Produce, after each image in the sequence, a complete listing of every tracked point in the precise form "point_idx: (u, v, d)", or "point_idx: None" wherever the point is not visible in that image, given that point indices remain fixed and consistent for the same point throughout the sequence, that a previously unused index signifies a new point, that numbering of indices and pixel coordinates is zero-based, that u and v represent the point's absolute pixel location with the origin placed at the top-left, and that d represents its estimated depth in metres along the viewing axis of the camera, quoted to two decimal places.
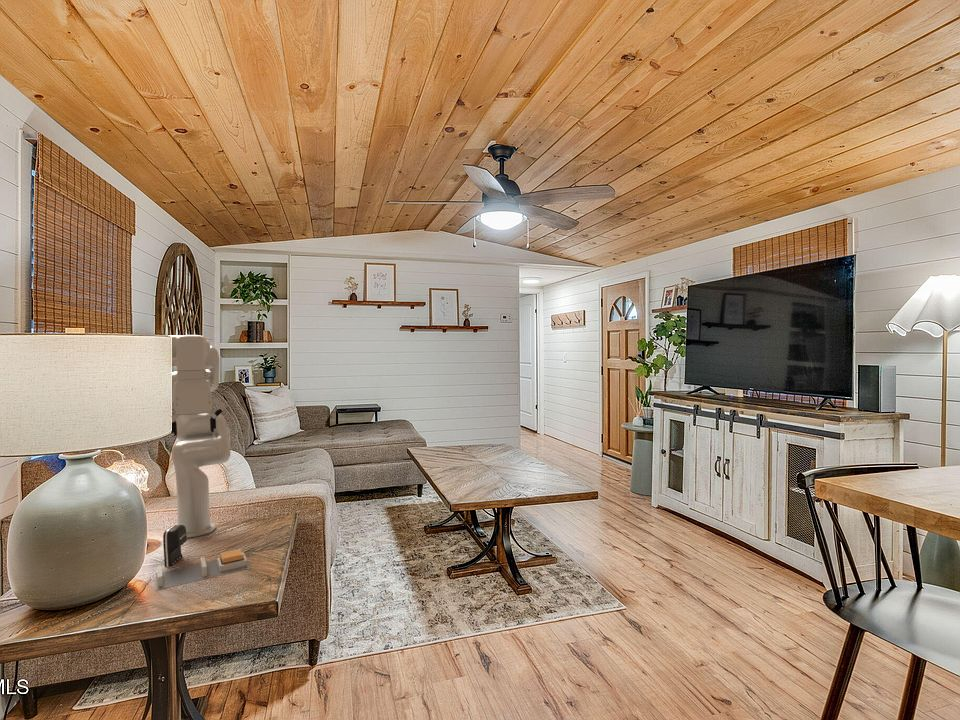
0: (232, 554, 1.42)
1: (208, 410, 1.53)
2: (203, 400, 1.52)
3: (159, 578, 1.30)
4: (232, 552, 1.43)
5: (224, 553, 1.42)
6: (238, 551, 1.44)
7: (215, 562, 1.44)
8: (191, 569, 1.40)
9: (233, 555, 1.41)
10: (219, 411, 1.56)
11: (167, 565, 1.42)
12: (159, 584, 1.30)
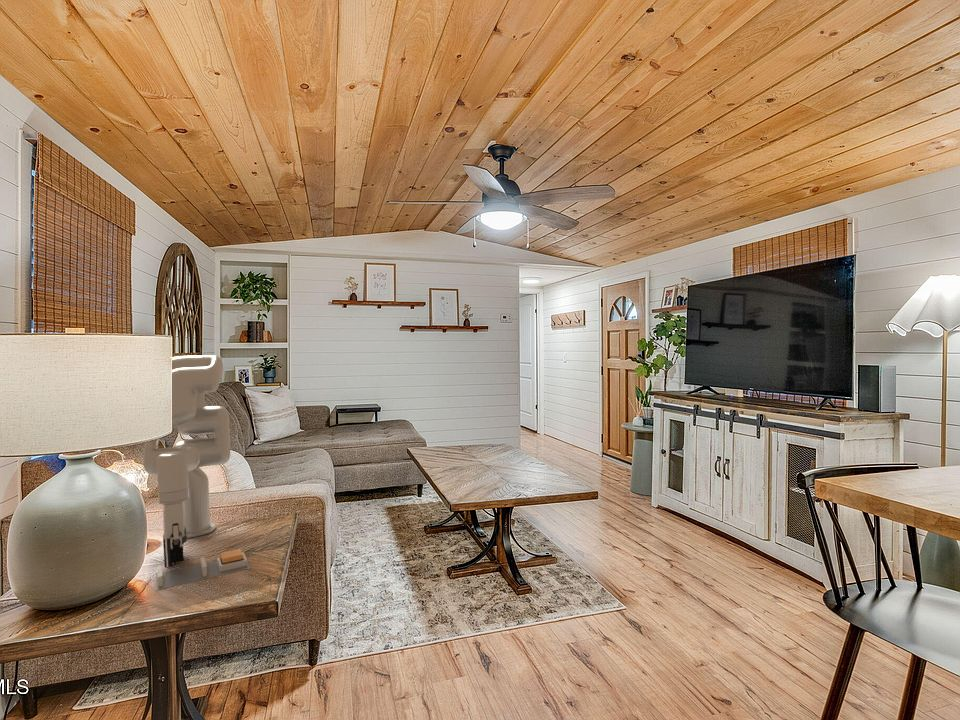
0: (232, 554, 1.42)
1: None
2: None
3: (159, 578, 1.30)
4: (232, 552, 1.43)
5: (224, 553, 1.42)
6: (238, 551, 1.44)
7: (215, 562, 1.44)
8: (191, 569, 1.40)
9: (233, 555, 1.41)
10: None
11: (167, 565, 1.42)
12: (159, 584, 1.30)
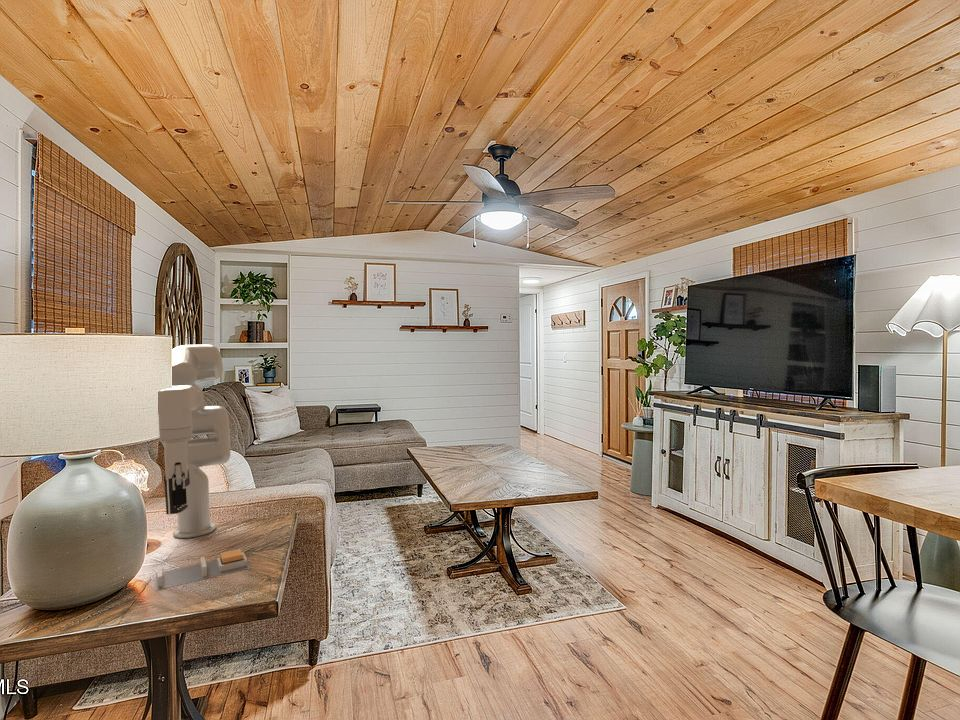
0: (232, 554, 1.42)
1: None
2: None
3: (159, 578, 1.30)
4: (232, 552, 1.43)
5: (224, 553, 1.42)
6: (238, 551, 1.44)
7: (215, 562, 1.44)
8: (191, 569, 1.40)
9: (233, 555, 1.41)
10: None
11: (169, 508, 1.32)
12: (159, 584, 1.30)
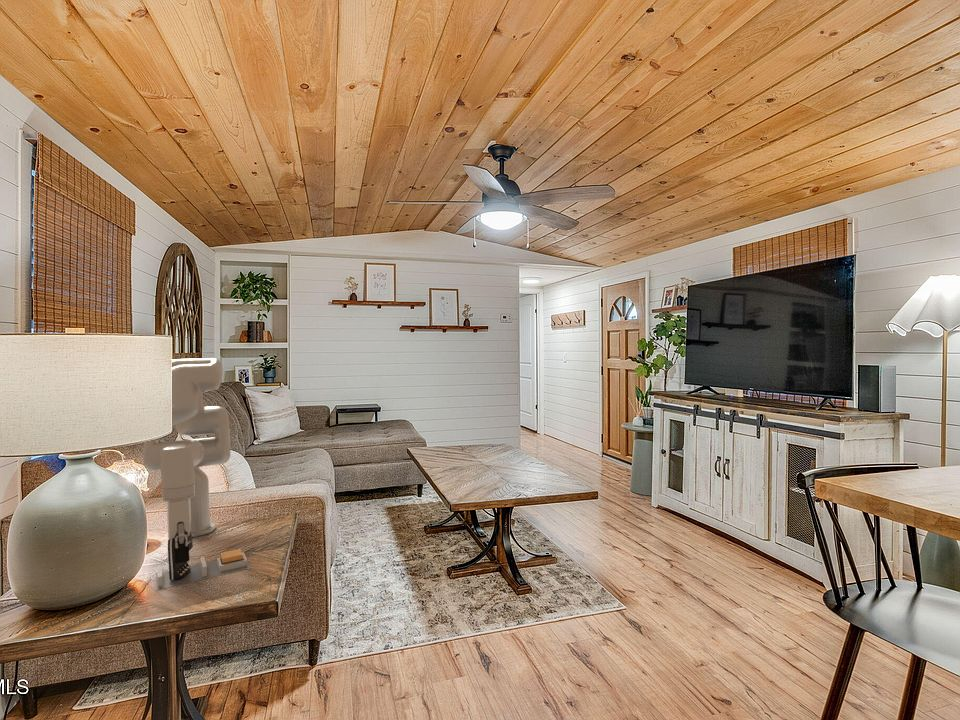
0: (232, 554, 1.42)
1: None
2: None
3: (159, 578, 1.30)
4: (232, 552, 1.43)
5: (224, 553, 1.42)
6: (238, 551, 1.44)
7: (215, 562, 1.44)
8: (191, 569, 1.40)
9: (233, 555, 1.41)
10: None
11: (172, 574, 1.33)
12: (159, 584, 1.30)
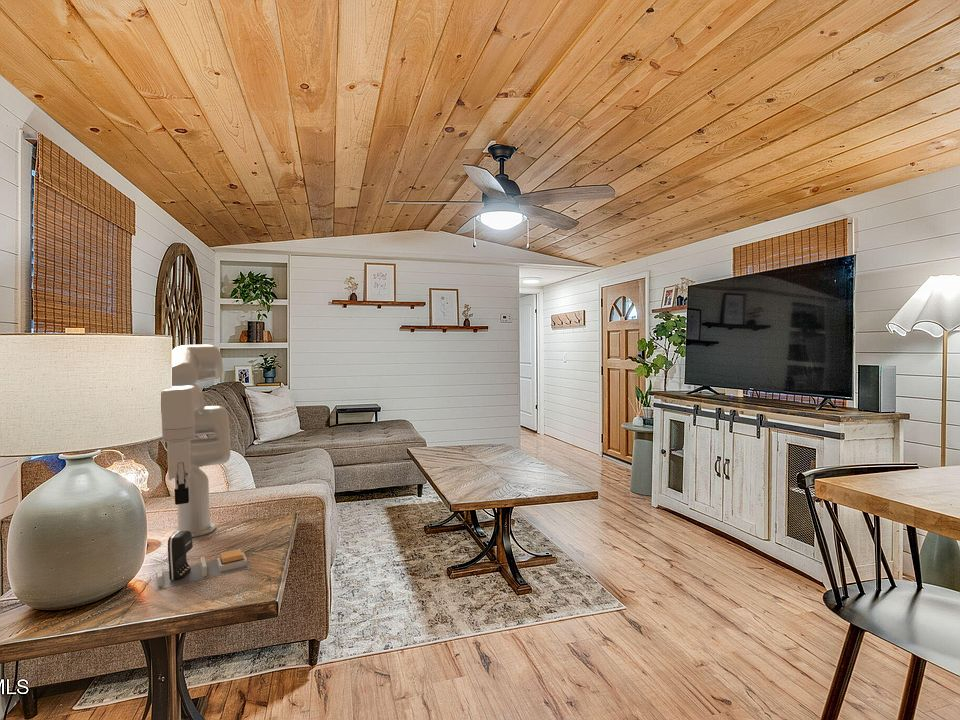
0: (232, 554, 1.42)
1: None
2: None
3: (159, 578, 1.30)
4: (232, 552, 1.43)
5: (224, 553, 1.42)
6: (238, 551, 1.44)
7: (215, 562, 1.44)
8: (191, 569, 1.40)
9: (233, 555, 1.41)
10: None
11: (172, 574, 1.33)
12: (159, 584, 1.30)
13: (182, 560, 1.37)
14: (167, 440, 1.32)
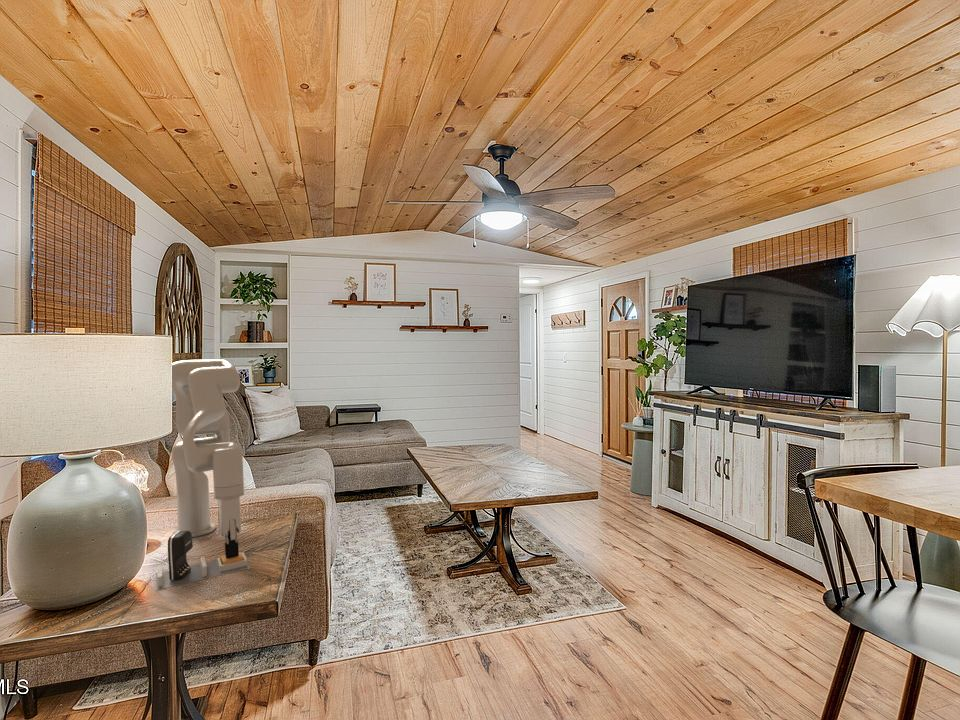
0: None
1: None
2: None
3: (159, 578, 1.30)
4: None
5: (224, 556, 1.42)
6: None
7: (215, 562, 1.44)
8: (191, 569, 1.40)
9: (233, 557, 1.41)
10: None
11: (172, 574, 1.33)
12: (159, 584, 1.30)
13: (182, 560, 1.37)
14: (219, 498, 1.38)
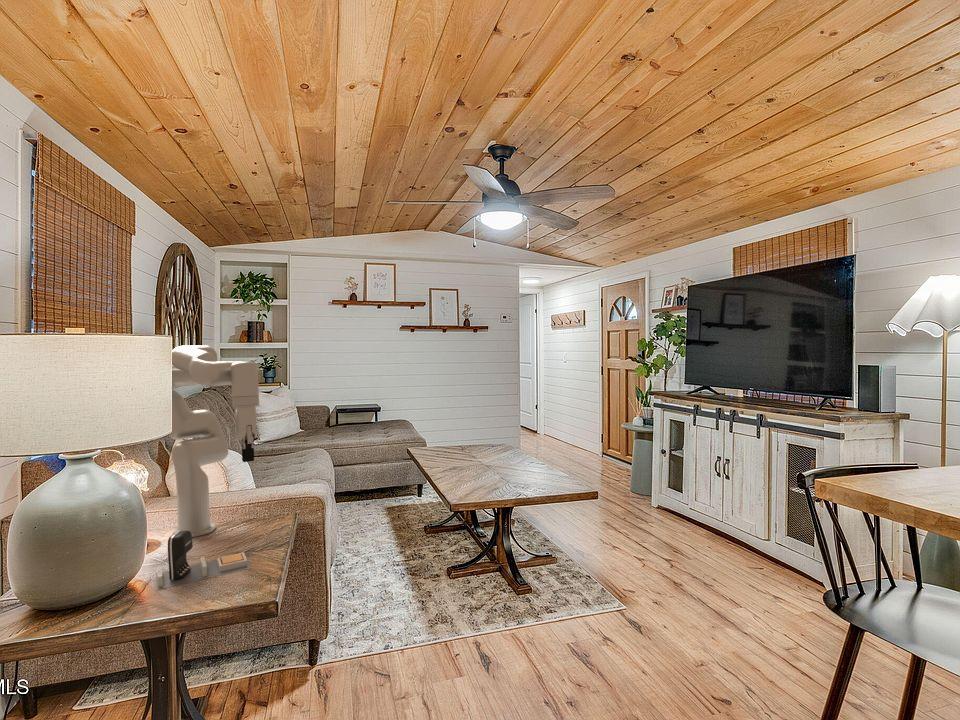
0: (232, 558, 1.42)
1: None
2: None
3: (159, 578, 1.30)
4: (232, 557, 1.43)
5: (224, 558, 1.42)
6: (238, 555, 1.44)
7: (215, 562, 1.44)
8: (191, 569, 1.40)
9: (233, 559, 1.41)
10: None
11: (172, 574, 1.33)
12: (159, 584, 1.30)
13: (182, 560, 1.37)
14: (237, 406, 1.53)
